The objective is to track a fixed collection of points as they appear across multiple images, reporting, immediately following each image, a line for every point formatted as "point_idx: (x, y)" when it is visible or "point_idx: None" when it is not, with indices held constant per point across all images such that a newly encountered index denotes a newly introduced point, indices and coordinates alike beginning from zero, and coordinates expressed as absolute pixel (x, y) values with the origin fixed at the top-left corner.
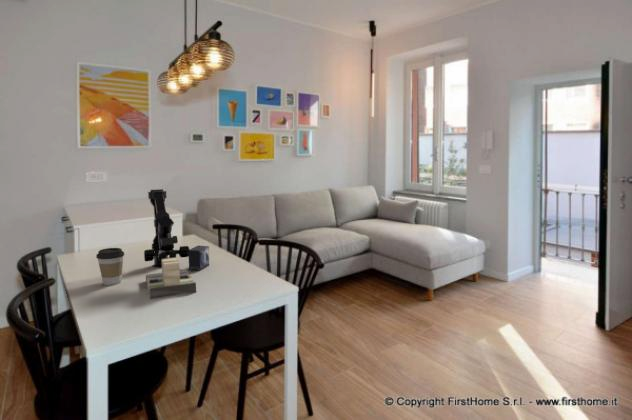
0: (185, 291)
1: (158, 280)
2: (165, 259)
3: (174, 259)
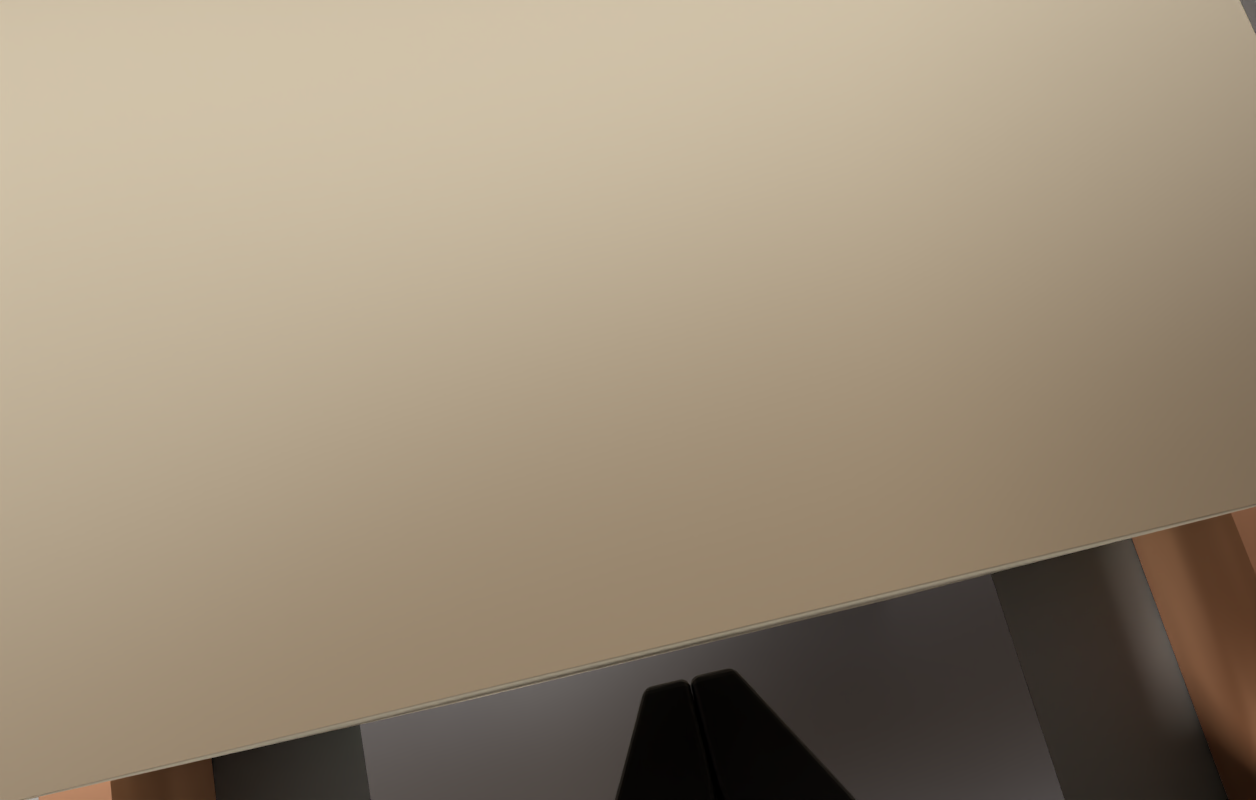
0: None
1: (1045, 743)
2: (955, 168)
3: (126, 12)
